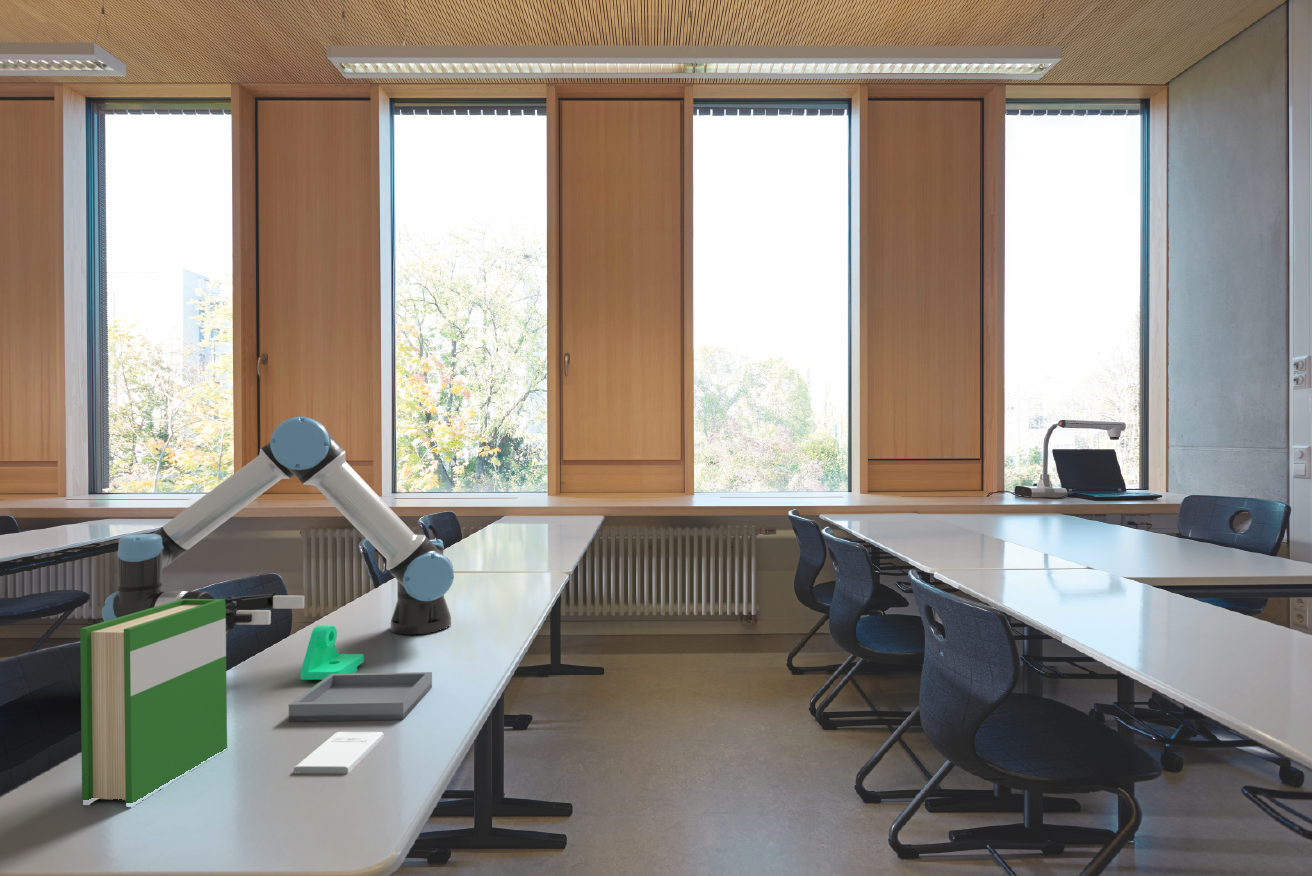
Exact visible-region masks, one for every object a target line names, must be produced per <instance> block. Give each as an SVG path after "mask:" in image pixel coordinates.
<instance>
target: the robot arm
mask: <svg viewBox="0 0 1312 876" xmlns="http://www.w3.org/2000/svg"><path fill="white" fill-rule="evenodd" d="M292 477H296V479H297V480H299V482H301V484H302V485H305V486H313V487H315V488H316V489H317V490H318V491H319V492H320V493H321V494H322V495H323V496H324V497H325V498H326V499H327V500H328V501H329V502H330V503H331V504H332V505H333V507H335V508H336V509H337V510H338V511H339V512H340V513H341V514H342V515H343V516H344V517H345V519H347V520H348V522H349V523H350V524H351V525H352V526H353V527H354V528H355V529H357V531H358V532H359V533H361V535H362V536H363V537H364V538H365V539H366V540H367V541H368V542H369V543H370V545H372V546H373V548H375V549H376V550H377V551H378V553H380V554H381V556H383V557H384V558H385V559H386V568H385V569H386V570H387V571H388V572H389V573H390V574H391V576H393V578H395V580H396V582H397V584H396V589H397V590H396V591H397V593H396V594H397V598H396V599H397V600H396V604H395V607H394V609H393V613H392V616H391V619H390V632H391V631H392V633H393V634H397V635H402V634H418V635H424V634H425V635H427V634H432V633H431V632H433V633H436V632H435V631H437V632H439V631H438V630H440V629H444V630H446V629H447V628H446V627H448V626H449V625H451V626H452V615H451V612H450V610H449V606H448V603H447V602H446V598H445V594H447V593H448V591H450V588H451V587H452V584H453V582H454V579H455V572H454V571H455V570H454V565H453V564H452V561H451V560H450V559H449V558H448V557H447V556H446V555H444V551H445V547H444V542H443V540H442V539H441V538H440V539H429V538H428V537H427V536H426V535H425V534H416V533H414V532H413V530H412V529H410V528H409V526H407V524H406V523H405V522H404V521H403V520H402V519H401V518H400V517H399V515H397V514H396V513H395V512H394V511H393V510H392V508H391V507H389V505H387V503H386V502H385V501H384V500H383V499H382V497H381V496H379V495H378V494H377V493H376V492H375V490H373V488H371V486H369V484H368V483H367V482H366V481H365V480H364V479H363V478H362V477H361V476H360V475H359V473H357V471H356V470H355V469H354V468H352V467H351V465H350V464H349V463H348V462H347V461H346V450H345V449H344V448H343V447H342V446H341V445H340V444H339V443H338V442H337V440H336V439H335V438H334V437H333V436H332V435H331V434H330V433H329V432H328V431H327V429H326V427H325V426H324V425H323V424H322V423H320V421H318V420H316V419H314V418H312V417H308V416H301V415H299V416H298V415H297V416H293V417H289V418H287V419H285V420H283V421H282V422H280V423H279V425H277V426H276V427H275V429H274V430H273V432H272V434H271V437H270V441H269V442H267V443H266V444H265V445H264V446H262V447H261V448H260V449H259V455H257V456H256V457H255V458H253V459H252V460H251V461H249V462H248V463H247V464H246V465H243V466H242V467H241V468H240V469H238V470H237V471H236V472H234V473H233V474H231V475H230V476H229V477H228V478H226V479H224V480H223V481H222V482H221V483H219V484H218V485H216V487H214V488H212V489H211V490H210V491H208V492H207V493H206V494H205V495H203V496H202V497H200V498H199V499H198V500H196V501H194V503H192V504H191V505H190V506H188V507H187V508H186V509H184V510H183V511H182V512H180V513H178V515H176V516H174V518H172V519H170V521H168V522H167V523H165V524H164V525H163V526H161V527H160V528H159V529H157V530H156V531H154V532H153V533H139V534H130V535H124V536H122V537H121V538H120V539H119V540H118V548H117V552H116V556H117V591H115V592H113V593H111V594H109V596H108V597H107V598H106V599H105V601H104V606H103V607H102V608H101V615H102V620H103V622H105V621H108V620H111V619H115V618H118V617H122V616H125V615H129V614H132V613H136V612H139V611H143V610H146V609H149V608H153V607H156V606H160V605H163V604H167V603H170V602H174V601H177V600H181V599H215V598H214V597H213V595H212V594H211V592H209V591H205V590H204V591H203V590H200V591H199V590H198V591H195V590H194V591H188V590H187V591H186V590H171V591H170V590H169V591H162V590H163V589H162V588H163V569H165V568H167V567H168V566H170V565H171V564H172V563H174V562H175V560H176V559H177V560H178V558H180V557H181V556H182V555H184V554H185V553H186V552H187V551H188V550H190V549H191V548H192V547H194V546H195V545H196V544H197V543H199V542H200V541H202V540H203V539H204V538H205V537H207V536H208V535H209V534H211V533H212V532H213V531H215V530H216V529H217V528H218V527H220V526H222V524H224V523H226V522H227V521H228V520H229V519H230V518H232V517H234V516H235V515H236V514H237V513H238V512H240V511H241V510H243V509H244V508H245V507H247V506H249V504H251V503H252V502H253V501H254V500H255V499H257V498H258V497H260V496H261V495H262V494H264V493H265V492H266V491H268V490H269V489H270V488H272V487H273V486H275V484H277V483H279V481H281V480H283V479H284V480H285V479H286V480H289V479H291V478H292ZM219 599H225V606H226V626H227V630H233V629H235V625H236V626H237V625H238V626H239V625H240V626H244V625H245V626H246V625H248V626H249V625H252V626H253V625H254V626H255V625H261V626H262V625H264V626H265V625H266V626H267V625H268V626H269V625H272V624H271V623H272V621H271V620H272V618H271V617H272V610H270V609H269V608H272V609H273V610H274V609H276V610H277V609H280V610H281V609H287V610H288V609H300V610H301V609H305V595H279V593H277V591H272V593H267V594H254V595H244V596H242V595H241V596H227V597H220V598H219ZM262 609H263V610H262ZM268 609H269V610H268ZM445 628H446V629H445ZM448 628H449V627H448Z"/></svg>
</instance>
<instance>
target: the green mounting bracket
mask: <svg viewBox="0 0 1312 876" xmlns="http://www.w3.org/2000/svg"><path fill="white" fill-rule="evenodd" d="M337 636H338V632H337V628H336V626H334V625H316V626H315V627H314V628H313V629H312V631H311V634H310V638H309V641H308V645H307V648H306V652H305V655H304V658H303V661H302V662H303V663H302V665H301V668H300V680H306V681H307V680H310V681H311V680H314V681H315V680H317V681H318V680H321V681H322V680H323V679H325V678H326V677H327V676H329V675H330V674H350V673H357V672H358V667H359V666H360V665H362V664H363V663H364V662H365V661H364V657H365V655H364V654H363V653H339V652H338V650H337V649H338V648H337V646H336V644H335V643H336V642H337V641H336V640H337Z"/></svg>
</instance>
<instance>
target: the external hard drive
mask: <svg viewBox="0 0 1312 876" xmlns="http://www.w3.org/2000/svg"><path fill="white" fill-rule="evenodd" d="M384 736H385V734H384V732H382V731H337V732H335V733H333V735H331V736H330V737H328V739H326V740H325V741H324V742H322V744H320V745H319V746H318V747H317V748H315V750H313V751H312V752H311V753H310V754H309V755H307V756H306V757H305V758H304V759H302V760H301V761H300V762H299V763H297V764H296V765H295V766H294V767H293V774H349V773H350V772H351V771H352V770H353V769H354V768H355V767H356V766H357V765H358V764H359V763H360V762H362V760H363V759H364V758H365V757H366V756H367V755H368V754H370V752H371V751H372V750H373V749H374V748H375V747H376V746H377V745H378V744H379V743H380V742H381V741H382V740H383V739H384ZM354 766H355V767H354ZM295 772H296V773H295ZM298 772H299V773H298Z"/></svg>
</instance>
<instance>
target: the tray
mask: <svg viewBox="0 0 1312 876" xmlns="http://www.w3.org/2000/svg"><path fill="white" fill-rule="evenodd" d="M432 688H433V672H432V671H427V672H426V671H424V672H423V671H422V672H421V671H420V672H419V671H418V672H416V671H415V672H412V671H411V672H370V673H369V672H363V673H361V672H359V673H357V672H354V673H350V674H330V675H329V676H327V677H326V678H325V679H323V680H321V681H319V682H317V683H316V684H315V685H313V686H312V687H311V688H310V689H308V690H307V691H305V692H304V693H302V695H300V696H299V697H297V698H296V699H294V700H293V701H292V702H290V703H289V704H288V722H290V723H291V722H294V723H295V722H296V723H297V722H298V723H299V722H344V721H348V722H350V721H353V722H354V721H355V722H356V721H357V722H358V721H402V720H404V719H406V717H408V715H409V714H410V713H411V712H412V711H413V709H415V708H416V706H417V705H418V704H419V703H420V702H421V700H422V699H424V697H425V696H426V695H427V694H428V692H430V690H431V689H432Z"/></svg>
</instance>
